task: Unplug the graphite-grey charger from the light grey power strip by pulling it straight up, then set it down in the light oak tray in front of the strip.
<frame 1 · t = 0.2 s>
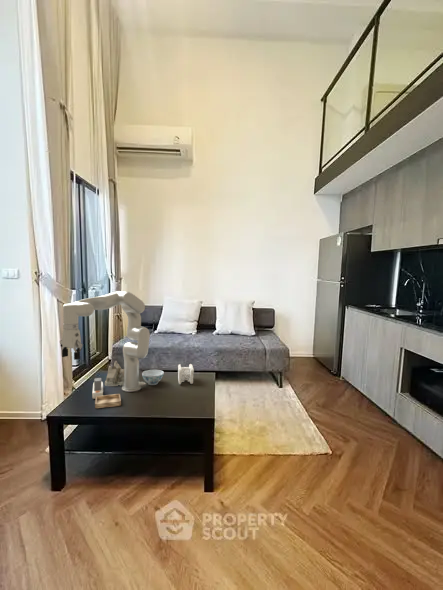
hand: (70, 357, 171), 31 cm above the table, tool pointing down, fingers open, 9 cm apart
ceramic cottage: (118, 383, 222), on the table
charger: (97, 388, 200), point 3 cm above the table, touching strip
chinaware: (152, 383, 222), on the table
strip: (97, 392, 203), on the table
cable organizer: (185, 382, 227), on the table
tray: (108, 402, 187), on the table
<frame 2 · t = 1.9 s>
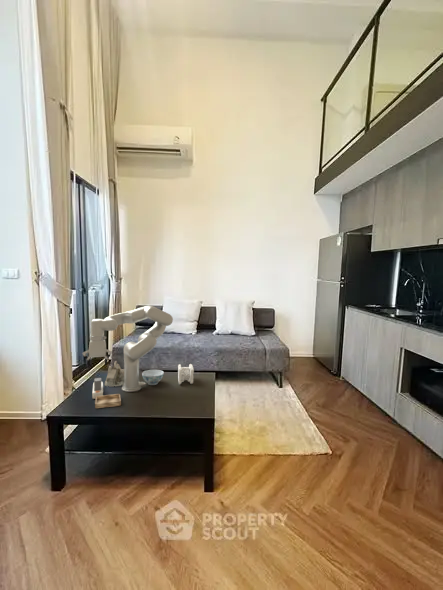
hand: (97, 365, 199), 19 cm above the table, tool pointing down, fingers open, 9 cm apart
nothing on the table moved.
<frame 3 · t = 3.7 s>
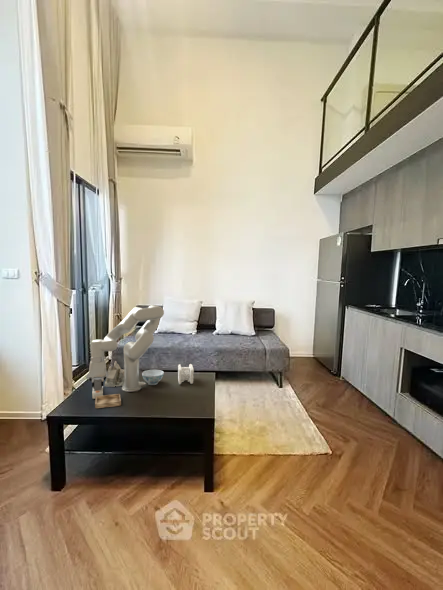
hand: (97, 387, 200), 5 cm above the table, tool pointing down, fingers closed on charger, 4 cm apart
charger: (97, 388, 200), point 4 cm above the table, touching gripper, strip
everything else where it was.
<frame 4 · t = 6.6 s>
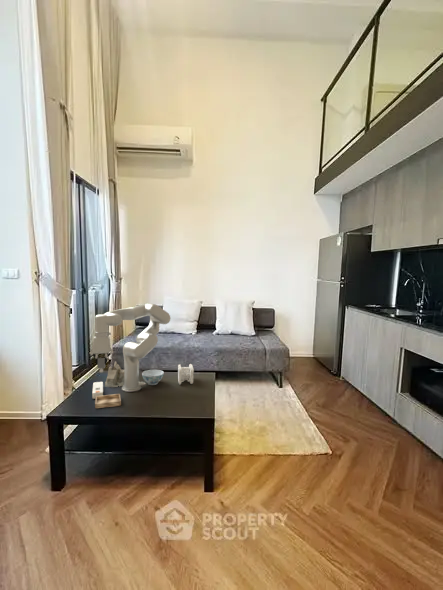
hand: (101, 363, 194), 21 cm above the table, tool pointing down, fingers closed on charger, 3 cm apart
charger: (101, 368, 192), point 19 cm above the table, tilted 16°, touching gripper
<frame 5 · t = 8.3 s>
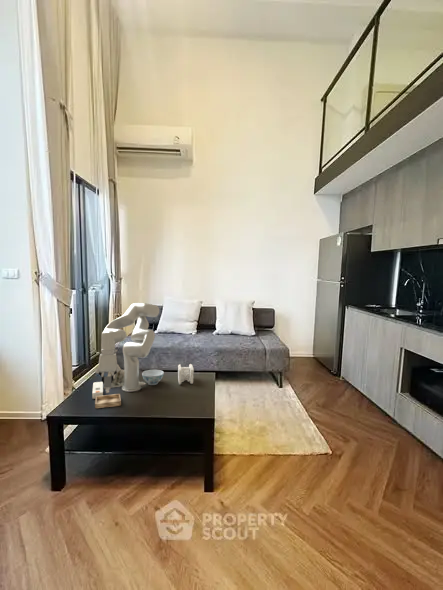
hand: (107, 382, 186), 13 cm above the table, tool pointing down, fingers closed on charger, 3 cm apart
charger: (107, 387, 184), point 10 cm above the table, tilted 31°, touching gripper
when the fingers open (6 cm above the table, at t = 9.4 s): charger moves 2 cm and tips over, resting on tray.
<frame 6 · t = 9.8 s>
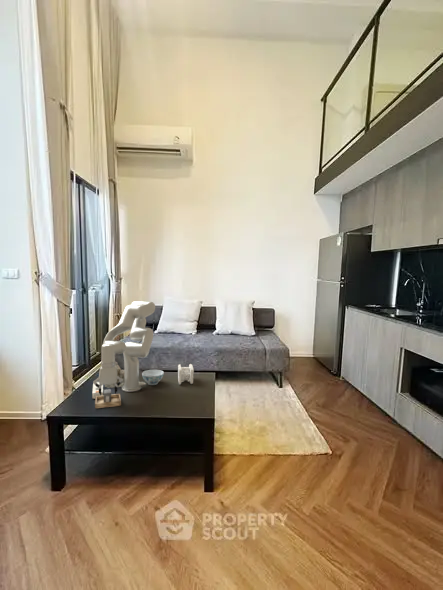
hand: (108, 393, 187), 6 cm above the table, tool pointing down, fingers open, 7 cm apart
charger: (107, 398, 186), point 4 cm above the table, tilted 90°, touching tray
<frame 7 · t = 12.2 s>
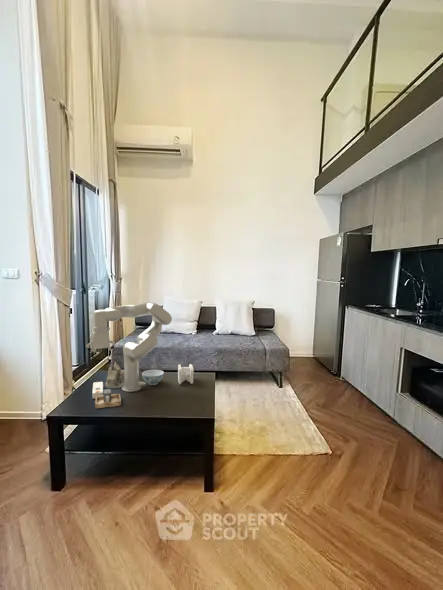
hand: (101, 357, 195), 25 cm above the table, tool pointing down, fingers open, 9 cm apart
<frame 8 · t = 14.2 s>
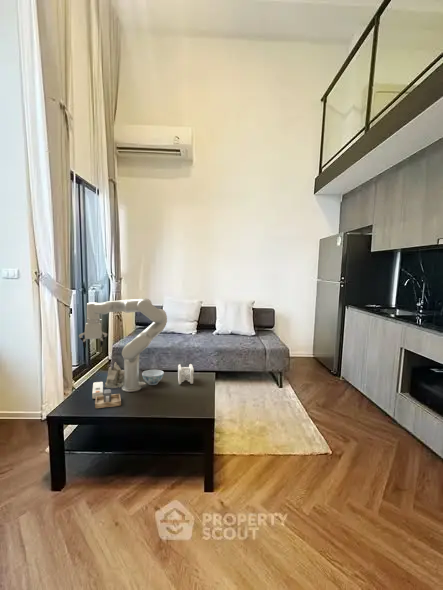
hand: (93, 347, 207), 28 cm above the table, tool pointing down, fingers open, 9 cm apart
at the end: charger inside the target area on the tray (1.5 cm from its centre), point 3.6 cm above the tray's base; the gripper is holding nothing; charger touching tray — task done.
